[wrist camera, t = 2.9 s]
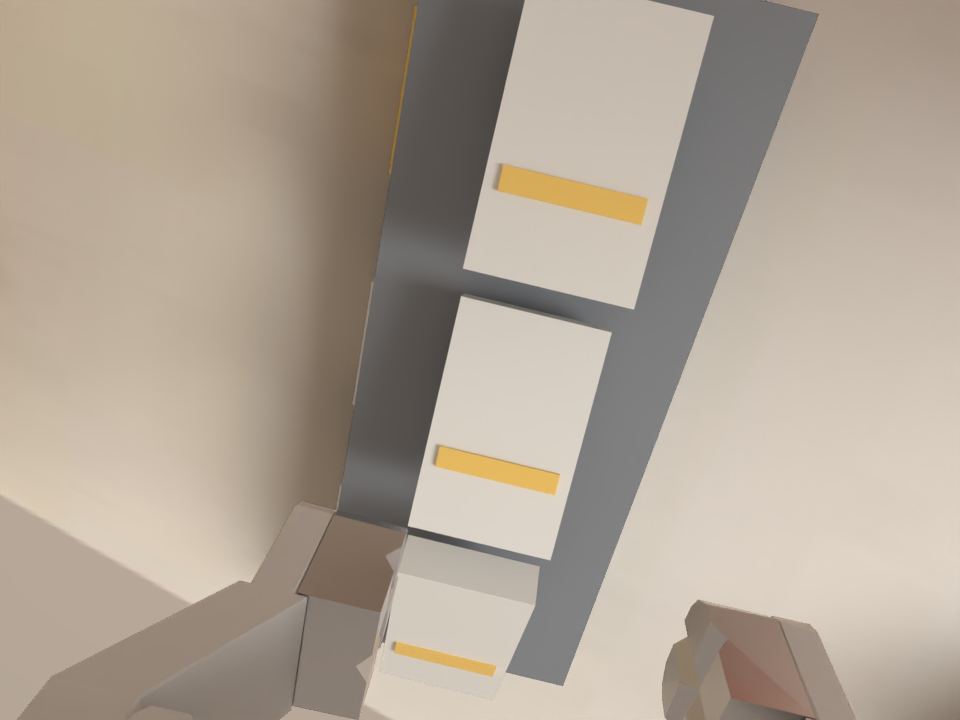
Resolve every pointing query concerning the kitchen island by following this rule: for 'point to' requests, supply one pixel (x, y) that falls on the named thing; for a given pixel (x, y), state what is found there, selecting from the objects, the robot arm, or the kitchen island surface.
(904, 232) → the kitchen island surface
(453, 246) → the console
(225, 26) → the kitchen island surface
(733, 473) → the kitchen island surface
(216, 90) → the kitchen island surface
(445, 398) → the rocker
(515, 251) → the rocker
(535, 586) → the block
